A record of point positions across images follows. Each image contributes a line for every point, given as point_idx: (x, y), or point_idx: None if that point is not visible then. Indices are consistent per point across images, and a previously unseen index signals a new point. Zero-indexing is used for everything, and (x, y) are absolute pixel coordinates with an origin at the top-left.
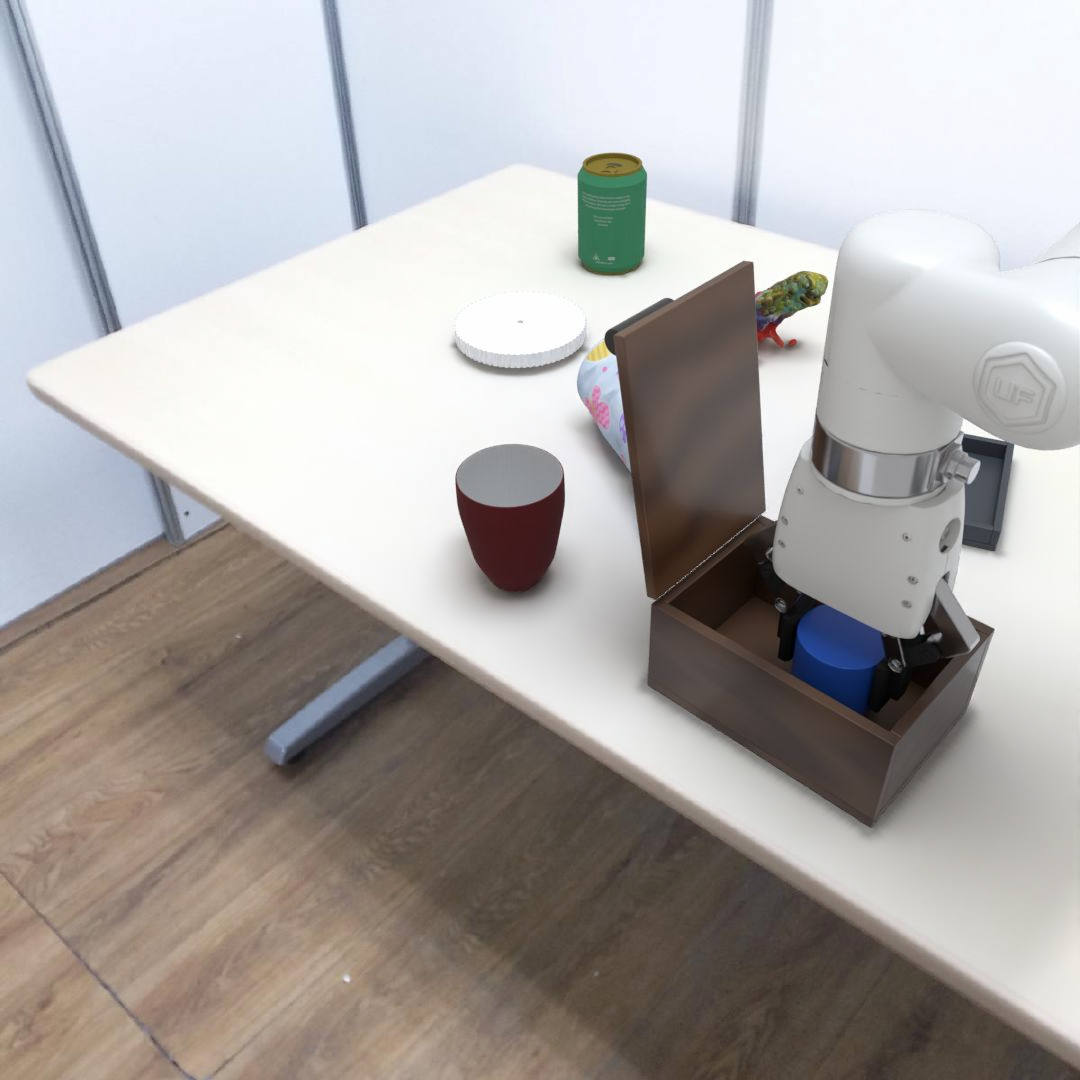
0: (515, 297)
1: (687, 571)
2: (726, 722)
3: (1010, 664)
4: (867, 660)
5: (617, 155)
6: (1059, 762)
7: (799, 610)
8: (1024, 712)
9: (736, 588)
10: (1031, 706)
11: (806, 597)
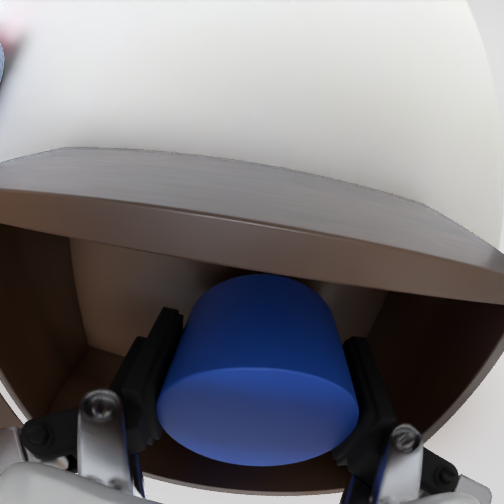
0: None
1: (4, 406)
2: None
3: (449, 90)
4: (315, 451)
5: None
6: (494, 231)
7: (147, 433)
8: (473, 173)
9: (35, 241)
10: (477, 159)
11: (137, 436)
